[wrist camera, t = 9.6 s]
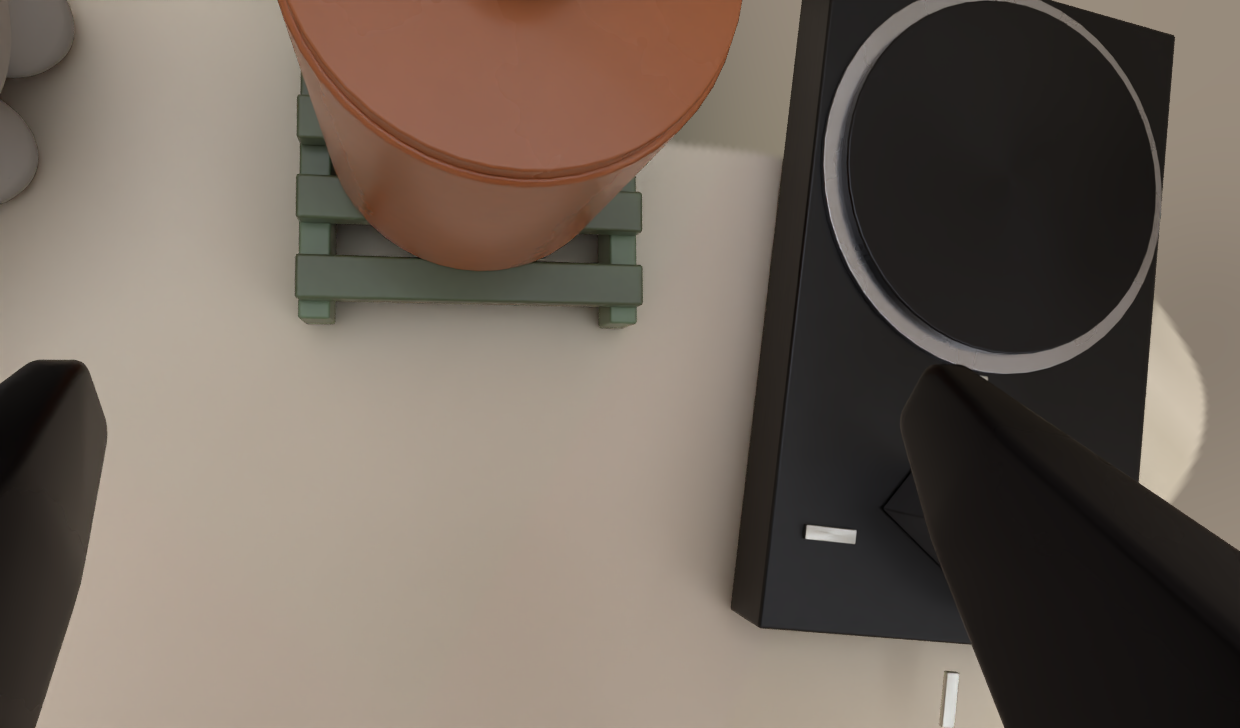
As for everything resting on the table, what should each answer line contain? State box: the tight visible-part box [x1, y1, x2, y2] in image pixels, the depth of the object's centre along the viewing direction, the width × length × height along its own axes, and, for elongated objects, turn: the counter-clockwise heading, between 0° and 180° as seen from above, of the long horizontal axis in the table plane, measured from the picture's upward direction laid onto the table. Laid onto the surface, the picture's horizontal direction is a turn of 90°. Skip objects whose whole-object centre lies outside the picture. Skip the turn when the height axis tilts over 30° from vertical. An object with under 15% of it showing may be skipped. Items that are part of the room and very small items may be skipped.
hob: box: [731, 0, 1175, 728], centre depth 24 cm, size 20×11×2 cm, turn 172°
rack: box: [295, 72, 643, 328], centre depth 20 cm, size 9×8×3 cm
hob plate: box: [821, 0, 1162, 374], centre depth 23 cm, size 11×11×1 cm
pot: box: [278, 0, 742, 271], centre depth 15 cm, size 7×7×9 cm
